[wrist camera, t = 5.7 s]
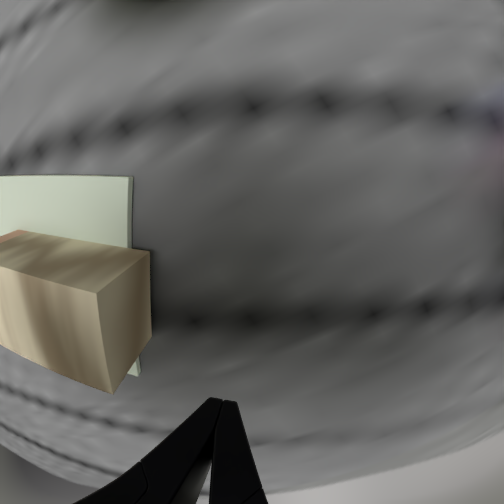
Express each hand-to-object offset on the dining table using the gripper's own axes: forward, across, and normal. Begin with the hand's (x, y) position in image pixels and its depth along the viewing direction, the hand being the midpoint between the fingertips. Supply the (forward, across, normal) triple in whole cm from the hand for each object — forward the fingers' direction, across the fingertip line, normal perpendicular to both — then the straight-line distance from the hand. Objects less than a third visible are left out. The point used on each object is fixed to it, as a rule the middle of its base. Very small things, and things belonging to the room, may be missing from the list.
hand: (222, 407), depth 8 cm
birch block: (+4, +5, 0) cm, 7 cm away
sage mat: (+7, +12, 0) cm, 14 cm away
